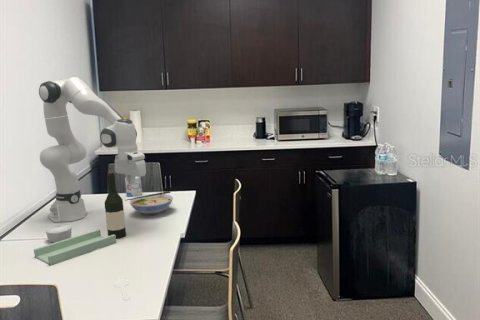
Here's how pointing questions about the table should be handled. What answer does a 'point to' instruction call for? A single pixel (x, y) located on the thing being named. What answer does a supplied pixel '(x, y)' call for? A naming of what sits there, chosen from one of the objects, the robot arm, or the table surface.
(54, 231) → the ramekin
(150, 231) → the table surface
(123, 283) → the spoon
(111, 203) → the wine bottle
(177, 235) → the table surface
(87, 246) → the tray
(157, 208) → the ramen bowl
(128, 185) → the ink box
